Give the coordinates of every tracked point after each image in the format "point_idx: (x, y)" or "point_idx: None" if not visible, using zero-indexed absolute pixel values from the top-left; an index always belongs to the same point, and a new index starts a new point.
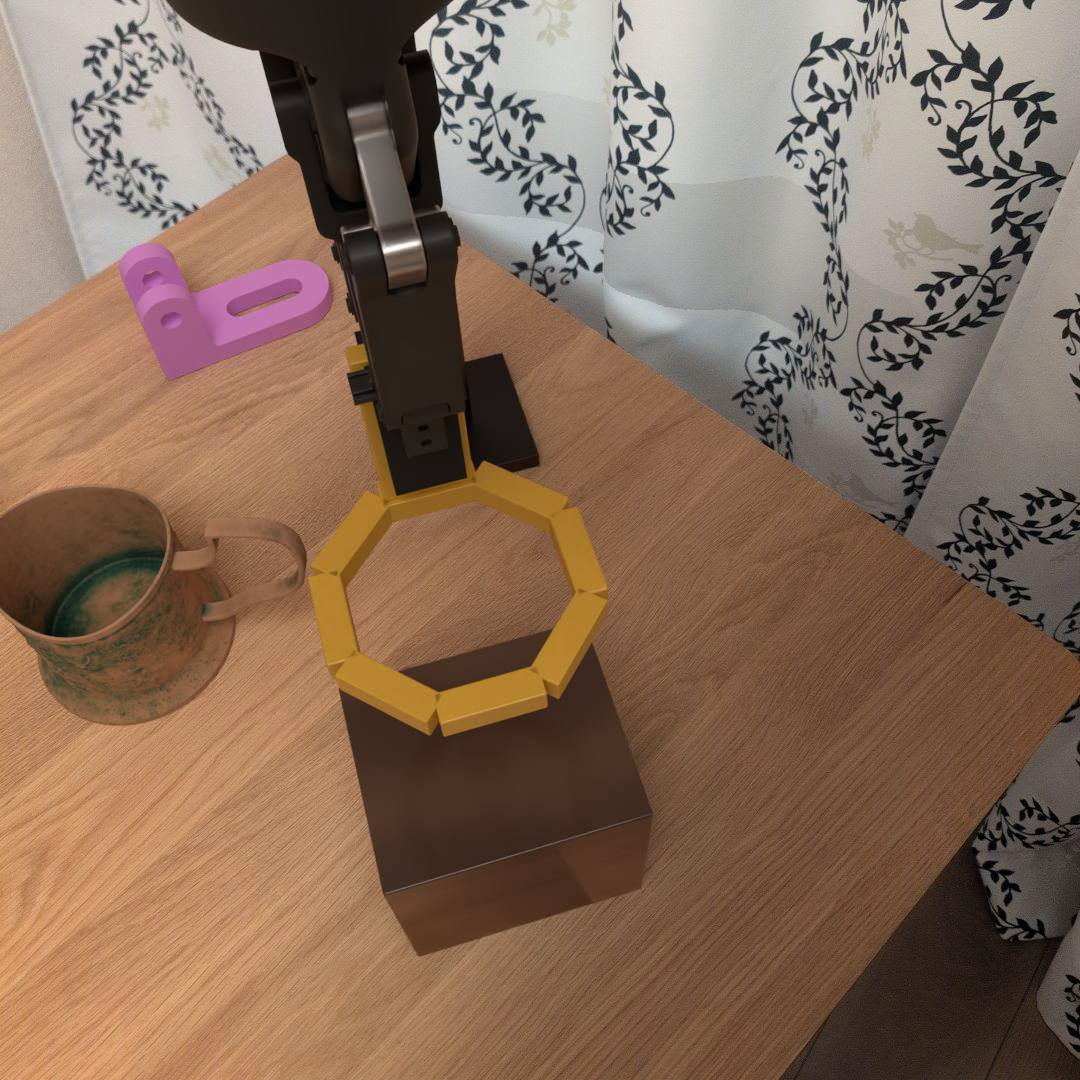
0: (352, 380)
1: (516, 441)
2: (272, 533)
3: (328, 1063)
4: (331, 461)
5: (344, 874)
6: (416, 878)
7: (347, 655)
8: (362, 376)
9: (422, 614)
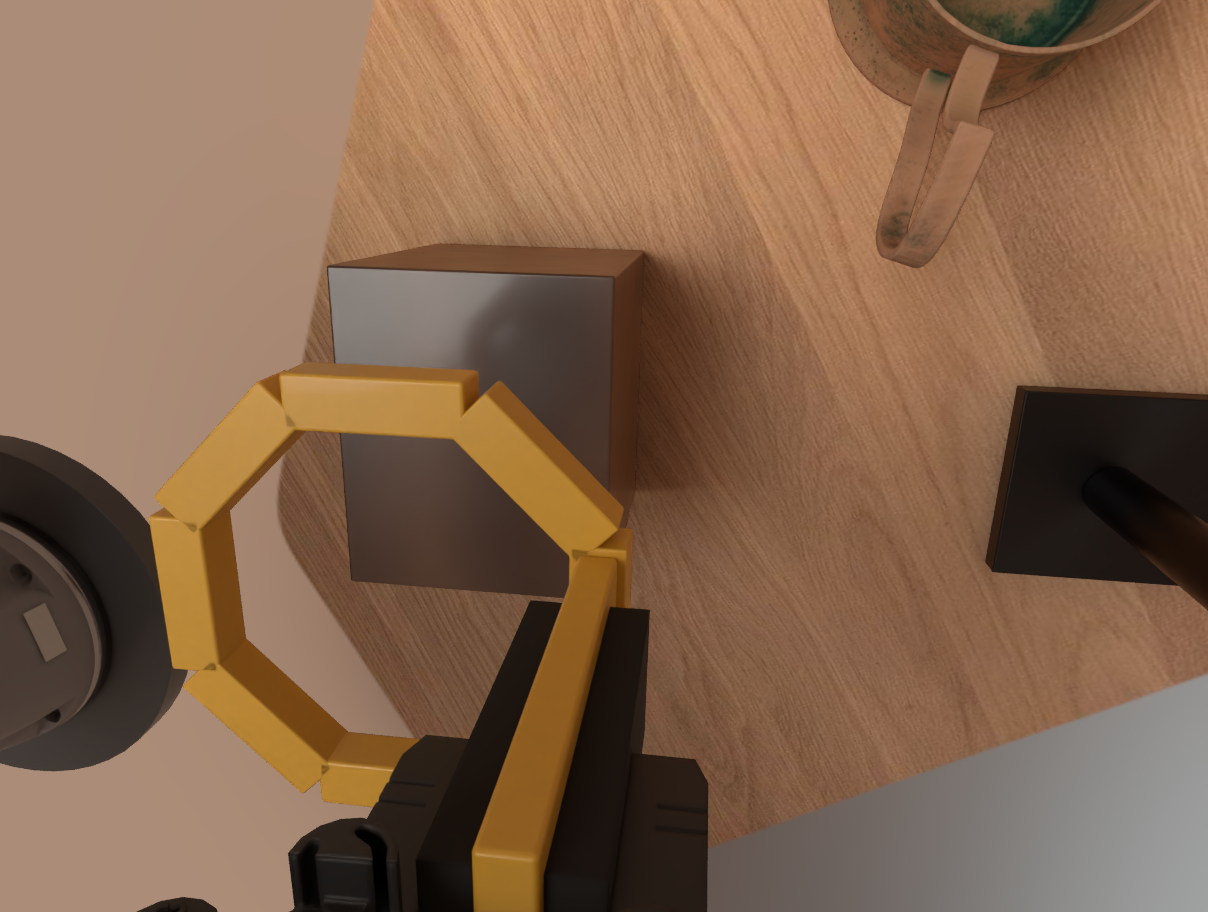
0: (368, 867)
1: (1028, 554)
2: (920, 234)
3: (357, 122)
4: (1138, 304)
5: (544, 184)
6: (336, 310)
7: (288, 412)
8: (369, 895)
9: (835, 359)
